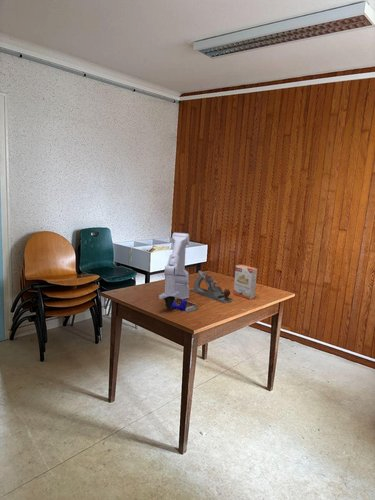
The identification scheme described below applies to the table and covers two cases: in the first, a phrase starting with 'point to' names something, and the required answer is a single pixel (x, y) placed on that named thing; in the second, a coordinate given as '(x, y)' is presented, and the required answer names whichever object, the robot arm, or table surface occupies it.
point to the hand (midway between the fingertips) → (168, 308)
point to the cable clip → (179, 307)
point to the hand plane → (211, 289)
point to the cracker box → (245, 281)
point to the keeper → (187, 304)
